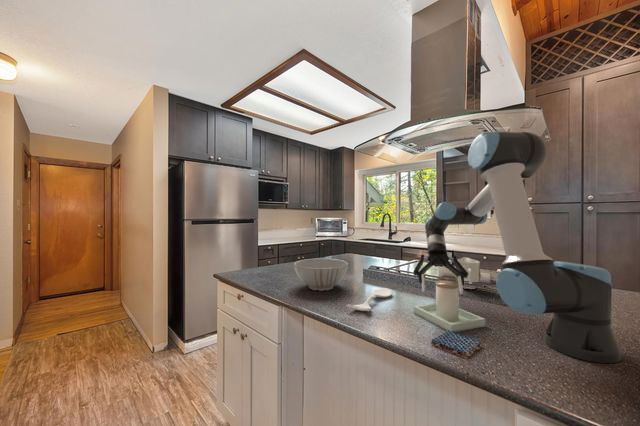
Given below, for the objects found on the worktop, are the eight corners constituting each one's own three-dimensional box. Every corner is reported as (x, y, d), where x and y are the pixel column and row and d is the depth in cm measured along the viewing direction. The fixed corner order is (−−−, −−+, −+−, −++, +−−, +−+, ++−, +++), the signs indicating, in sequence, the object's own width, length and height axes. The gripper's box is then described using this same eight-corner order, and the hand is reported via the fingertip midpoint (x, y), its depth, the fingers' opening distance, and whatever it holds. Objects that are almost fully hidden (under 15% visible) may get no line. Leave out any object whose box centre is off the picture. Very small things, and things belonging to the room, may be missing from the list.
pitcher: (457, 293, 128) (457, 263, 128) (453, 283, 145) (453, 256, 145) (484, 295, 125) (484, 264, 125) (477, 285, 142) (477, 257, 141)
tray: (485, 326, 92) (485, 318, 92) (451, 332, 87) (451, 324, 87) (443, 308, 108) (443, 301, 108) (413, 313, 104) (413, 306, 104)
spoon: (345, 313, 105) (345, 304, 105) (376, 291, 132) (376, 284, 132) (368, 318, 100) (368, 308, 100) (395, 294, 127) (395, 287, 127)
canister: (464, 319, 96) (463, 284, 95) (446, 323, 93) (446, 286, 93) (447, 312, 102) (447, 279, 102) (431, 315, 100) (430, 281, 100)
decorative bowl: (330, 299, 121) (330, 271, 121) (282, 289, 135) (282, 264, 135) (357, 285, 143) (357, 261, 143) (314, 278, 158) (313, 256, 158)
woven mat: (428, 346, 80) (428, 339, 80) (446, 335, 86) (446, 329, 86) (466, 361, 72) (466, 353, 72) (483, 348, 78) (483, 340, 78)
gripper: (466, 253, 122) (476, 298, 107) (406, 251, 128) (408, 294, 114) (469, 242, 116) (480, 288, 102) (406, 241, 123) (408, 284, 109)
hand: (442, 291), depth 108 cm, fingers open, 13 cm apart
